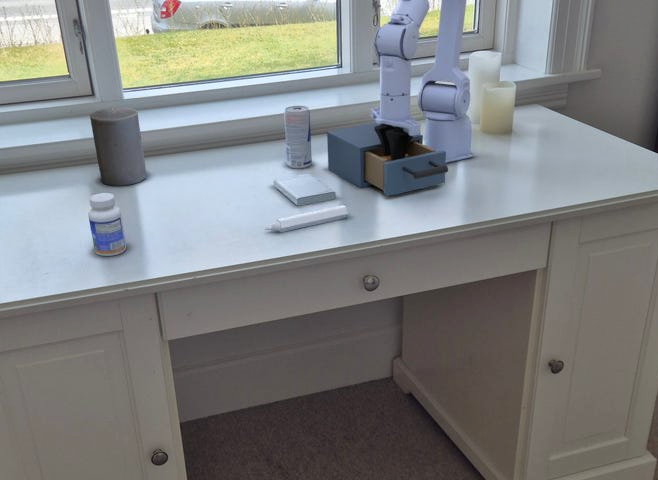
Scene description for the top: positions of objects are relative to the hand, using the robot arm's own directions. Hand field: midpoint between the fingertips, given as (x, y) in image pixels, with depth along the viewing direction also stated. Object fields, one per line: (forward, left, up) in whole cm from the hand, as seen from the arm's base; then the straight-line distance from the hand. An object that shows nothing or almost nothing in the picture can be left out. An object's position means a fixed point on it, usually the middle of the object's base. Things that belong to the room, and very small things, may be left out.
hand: (394, 163), depth 162 cm
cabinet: (-2, -10, -5) cm, 12 cm away
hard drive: (+16, -7, -5) cm, 19 cm away
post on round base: (-1, 0, -2) cm, 2 cm away
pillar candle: (+44, -36, -5) cm, 58 cm away
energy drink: (+9, -23, -5) cm, 26 cm away
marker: (+24, +8, -5) cm, 26 cm away
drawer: (-2, +2, -4) cm, 5 cm away
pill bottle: (+57, 0, -5) cm, 58 cm away
